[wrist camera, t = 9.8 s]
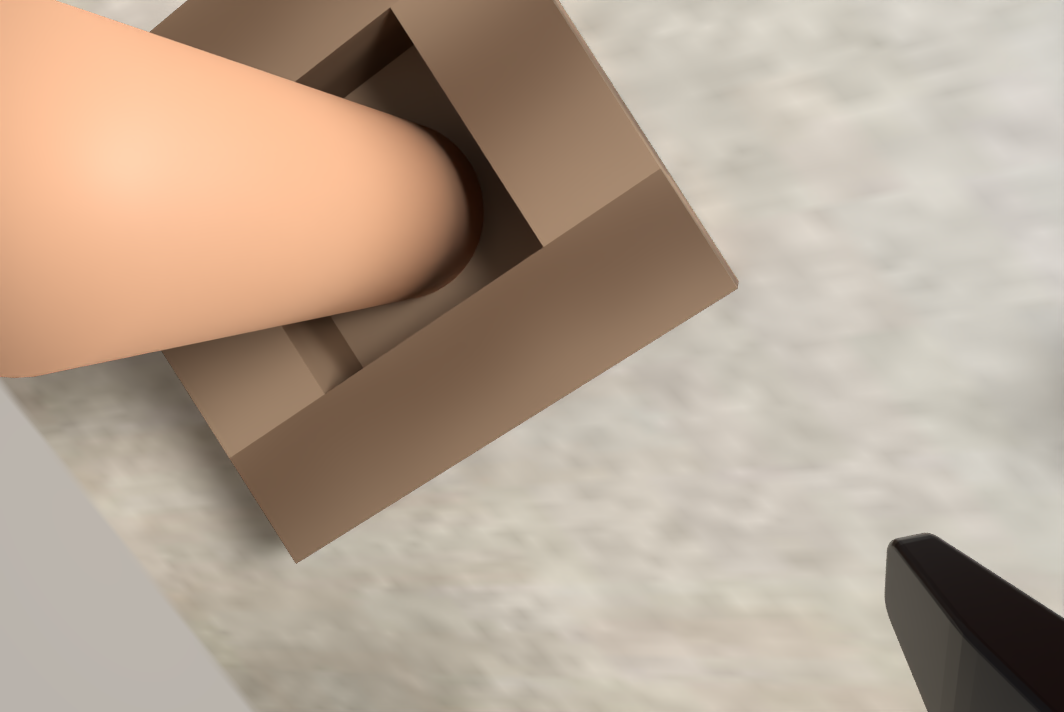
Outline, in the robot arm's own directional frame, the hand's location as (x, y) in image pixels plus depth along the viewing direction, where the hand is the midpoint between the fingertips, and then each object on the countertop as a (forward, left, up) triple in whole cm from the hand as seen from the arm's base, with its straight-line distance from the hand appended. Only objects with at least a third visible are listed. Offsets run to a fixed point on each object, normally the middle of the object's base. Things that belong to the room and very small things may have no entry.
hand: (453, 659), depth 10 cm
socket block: (+7, +2, -13) cm, 15 cm away
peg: (+7, +2, -12) cm, 14 cm away
